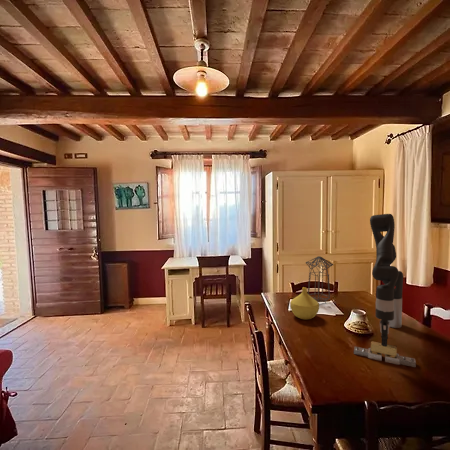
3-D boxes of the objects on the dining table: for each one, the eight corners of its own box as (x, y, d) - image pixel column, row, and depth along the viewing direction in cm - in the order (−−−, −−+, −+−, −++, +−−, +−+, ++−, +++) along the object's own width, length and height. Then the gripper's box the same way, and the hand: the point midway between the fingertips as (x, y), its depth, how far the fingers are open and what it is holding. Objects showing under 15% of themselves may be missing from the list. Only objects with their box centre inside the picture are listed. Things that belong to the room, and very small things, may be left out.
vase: (315, 312, 194) (315, 284, 193) (322, 322, 175) (322, 292, 174) (288, 311, 195) (288, 284, 194) (292, 321, 177) (292, 291, 176)
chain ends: (354, 349, 142) (354, 344, 141) (414, 362, 129) (414, 356, 129) (353, 354, 137) (353, 349, 137) (415, 368, 125) (416, 362, 124)
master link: (371, 354, 137) (371, 341, 137) (396, 359, 132) (396, 346, 132) (370, 357, 134) (371, 343, 134) (396, 362, 129) (396, 348, 129)
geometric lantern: (303, 300, 218) (304, 255, 216) (321, 298, 223) (321, 254, 221) (316, 307, 203) (316, 258, 201) (334, 304, 208) (335, 257, 206)
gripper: (375, 302, 140) (375, 334, 141) (375, 311, 127) (374, 346, 128) (393, 304, 136) (392, 337, 137) (394, 314, 124) (394, 350, 125)
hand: (384, 341), depth 133 cm, fingers open, 8 cm apart
